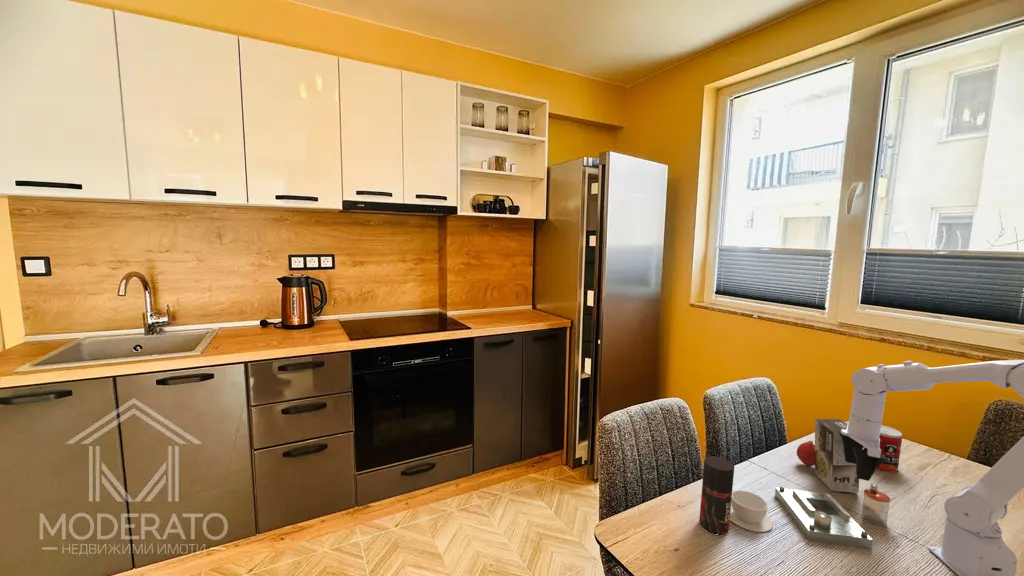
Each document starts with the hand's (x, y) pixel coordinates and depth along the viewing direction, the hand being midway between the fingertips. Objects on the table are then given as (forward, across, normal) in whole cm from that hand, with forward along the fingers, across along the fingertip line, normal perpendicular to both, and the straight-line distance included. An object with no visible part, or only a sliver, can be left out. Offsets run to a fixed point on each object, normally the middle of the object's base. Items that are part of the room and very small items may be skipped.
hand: (856, 470), depth 97 cm
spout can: (+10, +3, +4) cm, 11 cm away
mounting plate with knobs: (+10, +8, -8) cm, 16 cm away
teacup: (+11, +15, -24) cm, 30 cm away
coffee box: (+10, -12, 0) cm, 16 cm away
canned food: (+11, -30, +16) cm, 35 cm away
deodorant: (+11, +22, -31) cm, 39 cm away
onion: (+11, -19, -4) cm, 22 cm away
